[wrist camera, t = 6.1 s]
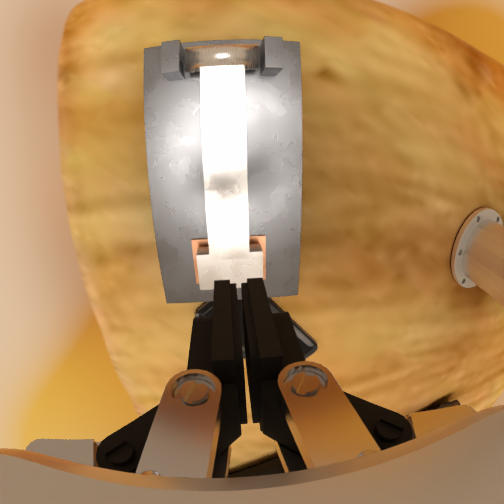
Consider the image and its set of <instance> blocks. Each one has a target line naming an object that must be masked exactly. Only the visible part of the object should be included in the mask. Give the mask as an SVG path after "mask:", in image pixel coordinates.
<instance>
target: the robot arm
mask: <svg viewBox="0 0 504 504" xmlns="http://www.w3.org/2000/svg"><path fill="white" fill-rule="evenodd" d="M451 270H452V275H453V278H454V279H455V281H456V282H457V283H458V284H459V285H461V286H462V287H464V288H471V287H474V286H476V285H477V286H478V287H480V288H481V289H482V290H484V291H485V292H486V293H487V294H489V295H490V296H491V297H492V298H493V299H495V300H496V301H497V302H498V303H499V304H501V305H502V306H503V307H504V226H503V222H502V219H501V217H500V215H499V214H498V212H496V211H495V210H493V209H491V208H489V207H483V208H479V209H478V210H476V211H474V212H473V213H472V214H471V215H470V216H469V217H468V219H467V220H466V221H465V222H464V224H463V226H462V227H461V229H460V231H459V233H458V235H457V238H456V240H455V243H454V247H453V251H452V257H451ZM241 294H242V314H243V334H244V349H245V359H246V368H247V376H248V385H249V394H250V402H251V411H252V419H253V423H260V430H261V431H263V434H265V435H267V436H268V437H270V438H272V439H273V440H274V444H275V447H276V450H277V453H278V455H279V458H280V460H281V463H282V466H283V468H284V471H285V473H280V474H272V475H263V476H251V477H236V478H228V472H229V464H230V456H231V444H232V443H233V442H234V441H235V440H236V439H238V438H239V437H240V436H241V424H247V409H246V394H245V378H244V363H243V351H242V341H241V330H240V320H239V309H238V298H237V287H236V283H231V284H230V280H214V296H213V317H201V318H194V319H193V326H192V334H191V342H190V350H189V358H188V367H187V370H186V371H182V372H180V373H178V374H176V375H174V376H173V377H172V378H171V379H170V380H169V382H168V383H167V385H166V387H165V390H164V393H163V395H162V398H161V401H160V404H159V405H157V406H156V407H154V408H153V409H151V410H150V411H148V412H146V413H145V414H143V415H142V416H140V417H139V418H137V419H136V420H134V421H132V422H131V423H129V424H128V425H126V426H124V427H123V428H121V429H119V430H118V431H116V432H114V433H113V434H111V435H109V436H108V437H106V438H105V439H104V440H103V441H101V442H95V441H94V439H84V440H62V439H61V440H60V439H37V440H34V441H33V442H31V443H30V444H29V445H28V446H27V447H26V450H20V449H4V448H2V449H0V504H504V405H500V406H495V407H491V408H487V409H484V410H481V411H479V412H476V411H475V410H474V409H473V408H472V407H470V406H467V405H457V406H452V407H446V408H441V409H435V410H429V411H422V412H415V413H410V414H409V416H408V417H404V416H402V415H400V414H398V413H396V412H394V411H391V410H388V409H386V408H383V407H380V406H378V405H375V404H373V403H370V402H368V401H365V400H363V399H360V398H358V397H355V396H353V395H351V394H348V393H346V392H344V391H342V389H341V387H340V386H339V384H338V383H337V381H336V380H335V378H334V377H333V375H332V373H331V372H330V371H329V370H328V369H327V368H326V367H324V366H322V365H321V364H318V363H315V362H309V361H305V358H304V356H303V353H302V350H301V347H300V344H299V341H298V338H297V335H296V332H295V329H294V326H293V324H292V321H291V318H290V315H289V313H288V312H279V313H272V311H271V308H270V304H269V300H268V296H267V292H266V289H265V285H264V281H263V278H247V283H241Z"/></svg>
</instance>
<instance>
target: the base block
mask: <svg viewBox="0 0 504 504" xmlns="http://www.w3.org/2000/svg"><path fill="white" fill-rule="evenodd" d="M229 44H258V45H259V53H260V59H259V68H258V70H245V108H246V145H247V182H248V217H249V244H260V245H261V248H262V250H263V281H264V285H265V289H266V292H267V296H268V297H280V296H292V295H298V282H299V264H300V242H301V212H302V88H301V61H300V42H294V41H283V40H282V37H269V36H264V38H263V40H213V41H198V42H187V43H181V42H180V40H174V41H166V42H162V46H157V47H150V48H145V49H144V117H145V138H146V153H147V166H148V178H149V188H150V197H151V206H152V214H153V222H154V230H155V237H156V244H157V250H158V257H159V263H160V269H161V275H162V280H163V286H164V291H165V296H166V301H167V303H188V302H208V301H213V296H214V289H212V290H200V285H199V276H198V268H197V259H196V254H197V248H198V247H209V244H208V232H207V218H206V204H205V189H204V172H203V153H202V130H201V98H200V72H190V73H186V69H185V48H186V47H195V46H208V45H229ZM237 298H238V300H241V299H242V294H241V288H237Z"/></svg>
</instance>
